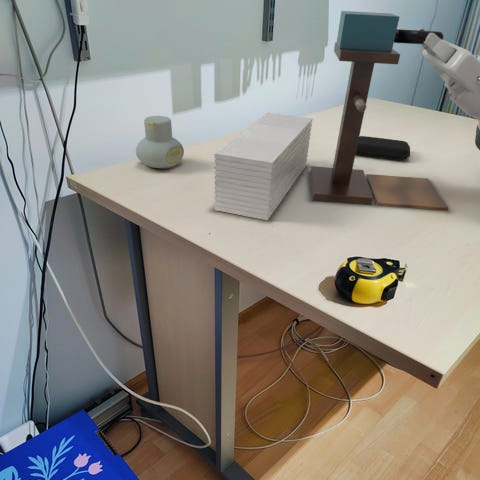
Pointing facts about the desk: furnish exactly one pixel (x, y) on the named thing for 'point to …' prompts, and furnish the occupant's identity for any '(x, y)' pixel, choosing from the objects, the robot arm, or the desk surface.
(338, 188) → the holder stand
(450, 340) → the desk surface
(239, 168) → the stack of papers
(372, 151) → the carrying case
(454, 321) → the desk surface
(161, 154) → the air freshener
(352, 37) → the stamp
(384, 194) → the cork mat
